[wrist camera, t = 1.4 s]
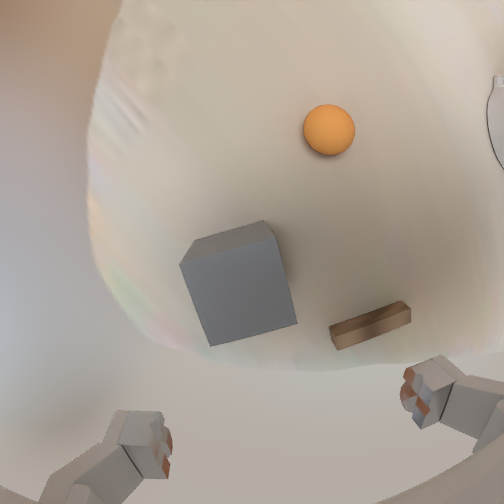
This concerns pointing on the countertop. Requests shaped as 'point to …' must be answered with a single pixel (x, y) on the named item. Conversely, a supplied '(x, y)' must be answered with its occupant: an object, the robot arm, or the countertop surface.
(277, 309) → the matte gray box
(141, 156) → the countertop surface
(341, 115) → the ball
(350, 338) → the bar
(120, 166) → the countertop surface
